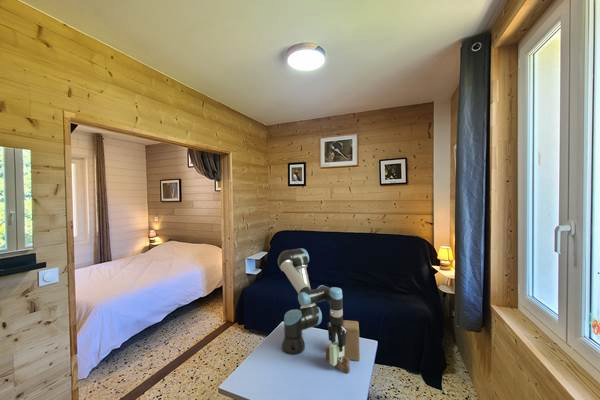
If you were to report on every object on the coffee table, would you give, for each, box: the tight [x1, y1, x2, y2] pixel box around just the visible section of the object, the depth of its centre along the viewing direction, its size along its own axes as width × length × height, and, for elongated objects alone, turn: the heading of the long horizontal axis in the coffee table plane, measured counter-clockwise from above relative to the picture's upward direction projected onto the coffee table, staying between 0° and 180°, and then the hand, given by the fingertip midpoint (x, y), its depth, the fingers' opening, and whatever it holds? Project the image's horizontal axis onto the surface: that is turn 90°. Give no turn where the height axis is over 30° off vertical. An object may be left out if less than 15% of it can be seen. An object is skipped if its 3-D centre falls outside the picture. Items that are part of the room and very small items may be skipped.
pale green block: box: [328, 339, 345, 367], centre depth 145 cm, size 10×3×11 cm, turn 133°
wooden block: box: [342, 319, 361, 362], centre depth 155 cm, size 10×10×20 cm
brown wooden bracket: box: [325, 346, 351, 375], centre depth 146 cm, size 16×2×8 cm, turn 43°
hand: (337, 354), depth 145 cm, fingers closed on pale green block, 3 cm apart
